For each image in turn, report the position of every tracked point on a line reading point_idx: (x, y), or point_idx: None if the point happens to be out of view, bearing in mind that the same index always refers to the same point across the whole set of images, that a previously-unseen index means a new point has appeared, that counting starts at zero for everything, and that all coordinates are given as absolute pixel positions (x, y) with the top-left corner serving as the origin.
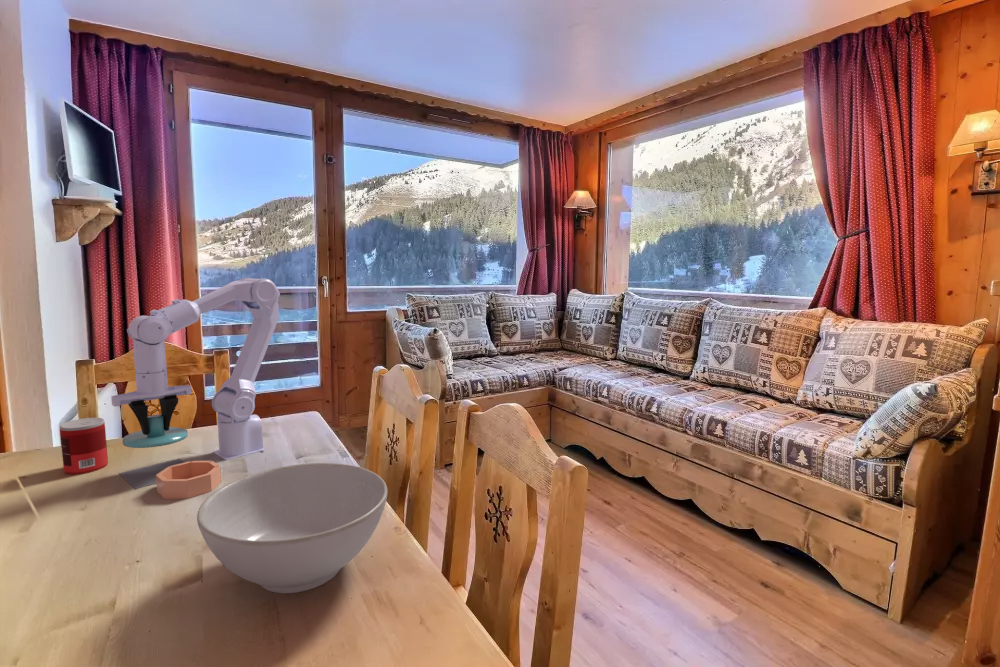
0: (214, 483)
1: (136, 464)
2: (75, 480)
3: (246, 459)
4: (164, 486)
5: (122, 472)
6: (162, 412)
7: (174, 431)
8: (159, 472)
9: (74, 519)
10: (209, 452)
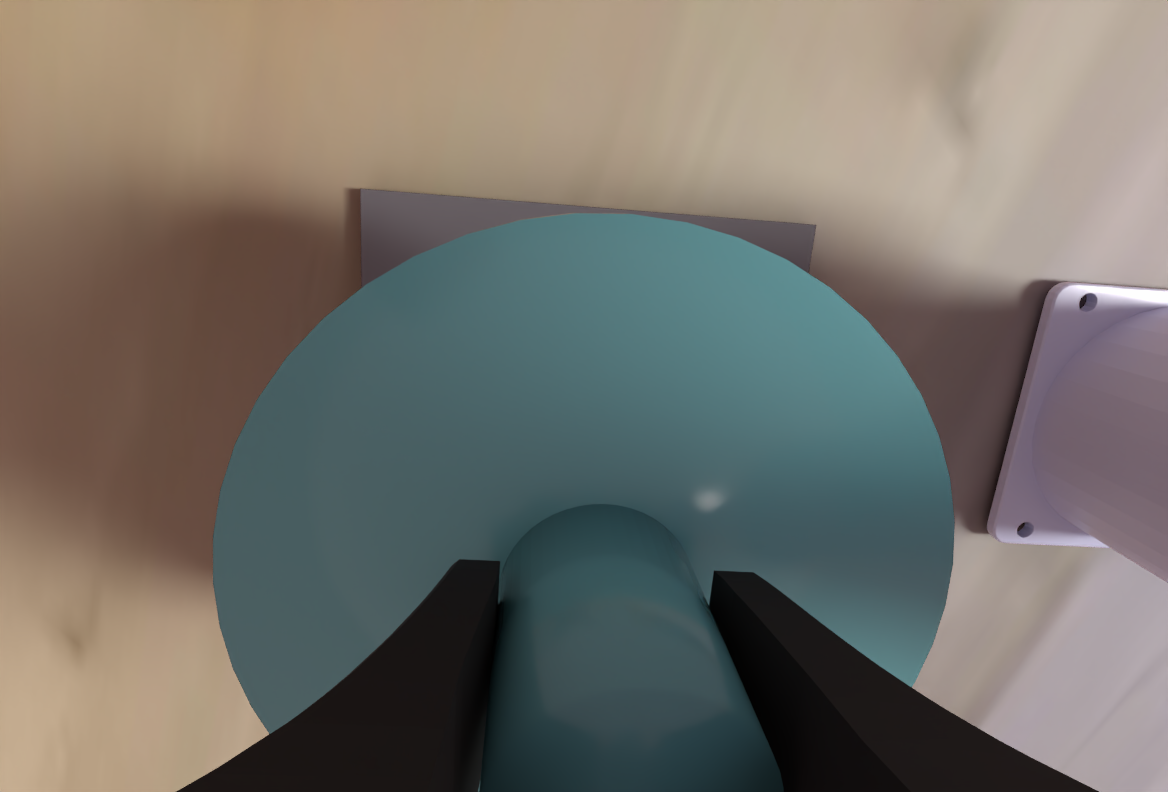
0: None
1: (542, 22)
2: (68, 23)
3: (1081, 590)
4: None
5: (386, 194)
6: (824, 786)
7: (817, 589)
8: None
9: (25, 741)
10: (1049, 228)
